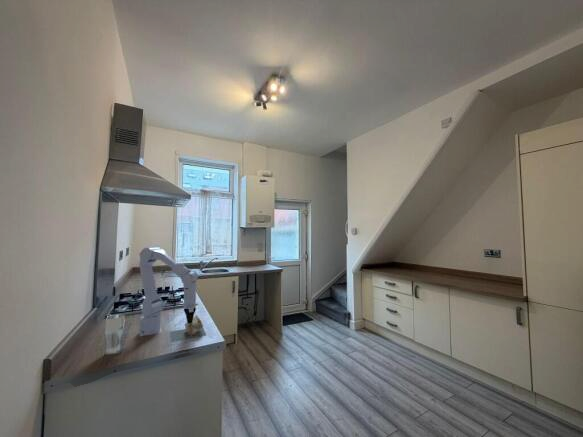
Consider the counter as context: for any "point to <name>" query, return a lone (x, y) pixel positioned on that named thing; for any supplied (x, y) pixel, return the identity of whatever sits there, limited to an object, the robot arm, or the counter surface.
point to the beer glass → (114, 333)
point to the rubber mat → (185, 334)
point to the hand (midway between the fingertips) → (189, 322)
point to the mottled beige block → (193, 325)
